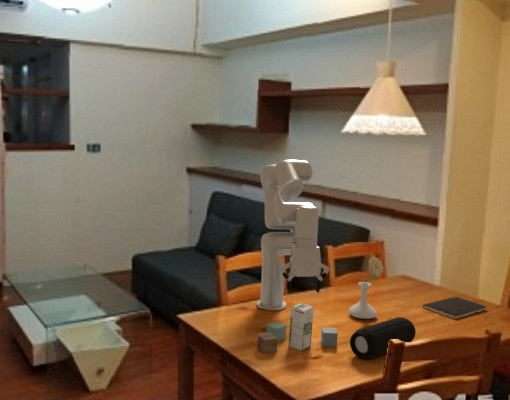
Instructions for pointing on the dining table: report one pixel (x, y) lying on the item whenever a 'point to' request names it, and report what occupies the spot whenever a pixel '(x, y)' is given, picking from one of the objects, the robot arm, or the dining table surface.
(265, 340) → the walnut cube
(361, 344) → the portable speaker
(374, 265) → the flower in vase
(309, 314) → the syrup box
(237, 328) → the dining table surface
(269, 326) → the sage green cube
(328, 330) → the slate grey cube
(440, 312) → the hardcover book
